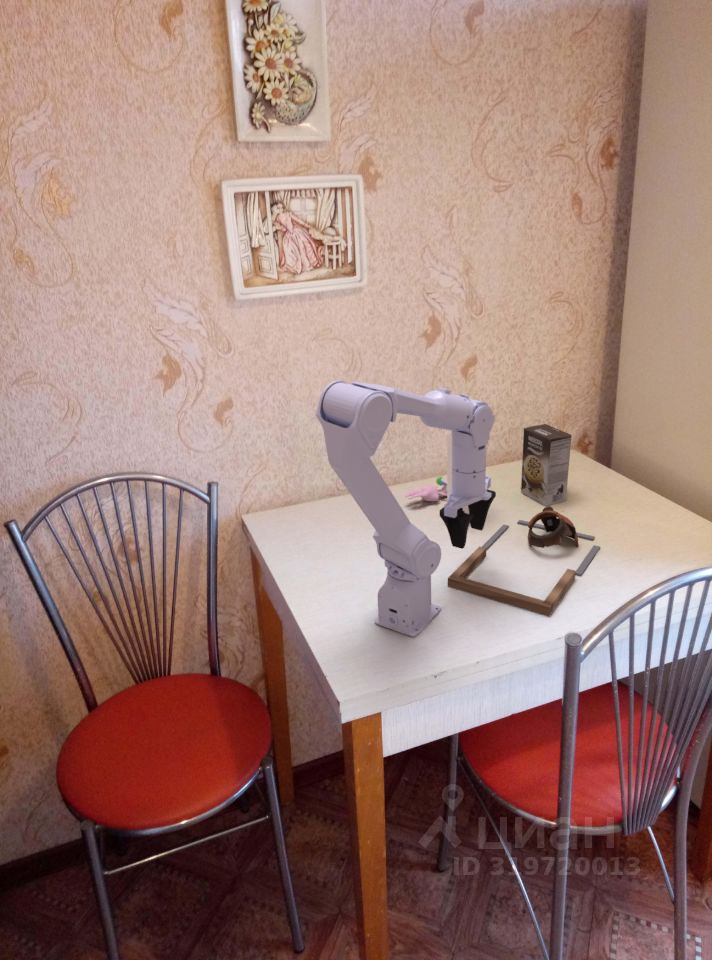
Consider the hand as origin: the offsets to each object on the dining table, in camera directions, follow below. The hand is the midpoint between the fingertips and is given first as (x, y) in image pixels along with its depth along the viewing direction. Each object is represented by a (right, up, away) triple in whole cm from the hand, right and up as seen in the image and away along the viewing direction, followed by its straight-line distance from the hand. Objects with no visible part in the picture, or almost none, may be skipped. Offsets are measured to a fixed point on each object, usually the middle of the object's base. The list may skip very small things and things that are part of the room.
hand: (467, 537), depth 121 cm
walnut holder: (+8, -9, +3) cm, 12 cm away
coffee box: (+23, +6, +36) cm, 43 cm away
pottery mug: (+20, -3, +16) cm, 25 cm away
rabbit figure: (-2, +5, +37) cm, 38 cm away
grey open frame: (+17, -3, +15) cm, 23 cm away
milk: (+4, +2, +28) cm, 28 cm away
